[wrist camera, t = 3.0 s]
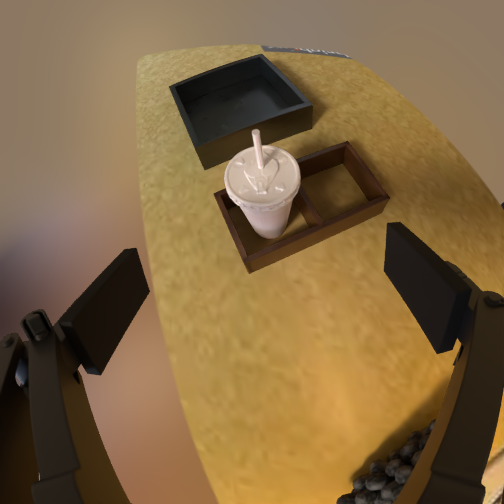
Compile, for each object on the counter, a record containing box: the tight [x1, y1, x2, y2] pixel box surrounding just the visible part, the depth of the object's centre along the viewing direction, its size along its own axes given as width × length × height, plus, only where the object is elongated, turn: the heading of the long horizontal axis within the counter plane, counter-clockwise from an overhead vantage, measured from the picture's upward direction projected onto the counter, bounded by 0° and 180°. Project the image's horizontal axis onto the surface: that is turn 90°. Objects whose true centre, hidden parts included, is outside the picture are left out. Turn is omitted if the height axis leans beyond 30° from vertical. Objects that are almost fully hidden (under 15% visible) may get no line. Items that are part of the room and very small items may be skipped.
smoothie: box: [224, 129, 301, 239], centre depth 26 cm, size 6×6×14 cm
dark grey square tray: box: [169, 54, 313, 170], centre depth 37 cm, size 16×16×5 cm
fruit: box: [337, 419, 436, 504], centre depth 17 cm, size 9×8×15 cm
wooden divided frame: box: [214, 141, 390, 274], centre depth 31 cm, size 9×17×4 cm, turn 113°
